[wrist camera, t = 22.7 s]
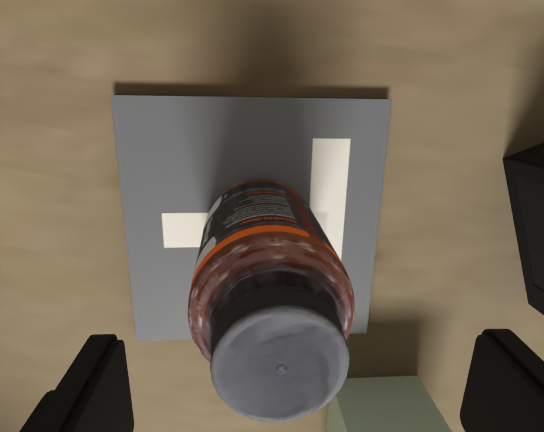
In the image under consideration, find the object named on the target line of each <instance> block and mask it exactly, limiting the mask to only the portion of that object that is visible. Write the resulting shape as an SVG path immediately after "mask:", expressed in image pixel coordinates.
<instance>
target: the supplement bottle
mask: <svg viewBox="0 0 544 432" xmlns="http://www.w3.org/2000/svg"><path fill="white" fill-rule="evenodd" d="M354 313H355V300H354V292H353V288H352V285H351V281H350V279H349V276H348V273H347V271H346V270H345V268H344V266H343V264H342V262H341V260H340V259H339V257H338V255H337V253H336V252H335V250H334V248H333V246H332V245H331V243H330V241H329V239H328V238H327V236H326V234H325V233H324V231H323V229H322V228H321V226H320V224H319V222H318V221H317V219H316V217H315V216H314V214H313V212H312V211H311V209H310V207H309V206H308V204H307V203H306V202H305V201H304V199H303V198H302V197H301V196H300V195H299V194H298V193H297V192H296V191H295V190H293V189H292V188H290V187H289V186H287V185H285V184H283V183H281V182H278V181H275V180H269V179H252V180H247V181H243V182H240V183H237V184H235V185H234V186H232V187H230V188H229V189H227V190H226V191H225V192H224V193H222V194H221V195H220V196H219V197H218V198H217V200H216V201H215V202H214V204H213V206H212V207H211V209H210V212H209V214H208V216H207V219H206V222H205V225H204V229H203V235H202V239H201V244H200V249H199V253H198V257H197V261H196V266H195V270H194V274H193V278H192V283H191V289H190V294H189V300H188V322H189V328H190V331H191V335H192V339H193V340H194V342H195V344H196V346H197V348H198V349H199V350H200V352H201V354H202V355H203V356H204V357H205V358H206V359H207V360H208V361H209V362H210V369H211V378H212V381H213V385H214V387H215V389H216V391H217V393H218V395H219V396H220V398H221V399H222V400H223V401H224V402H225V403H226V404H227V405H228V406H229V407H230V408H231V409H233V410H234V411H235V412H237V413H239V414H241V415H243V416H245V417H248V418H251V419H255V420H258V421H262V422H286V421H292V420H295V419H298V418H301V417H304V416H307V415H308V414H312V413H314V412H316V411H317V410H318V409H320V408H322V407H323V406H325V405H326V404H327V403H328V402H330V401H331V400H332V399H333V397H334V396H335V395H336V394H337V392H338V391H339V390H340V389H341V387H342V385H343V383H344V381H345V379H346V377H347V372H348V368H349V364H350V360H349V359H350V357H349V349H348V345H347V342H346V340H347V338H348V336H349V334H350V330H351V328H352V325H353V320H354Z"/></svg>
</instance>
